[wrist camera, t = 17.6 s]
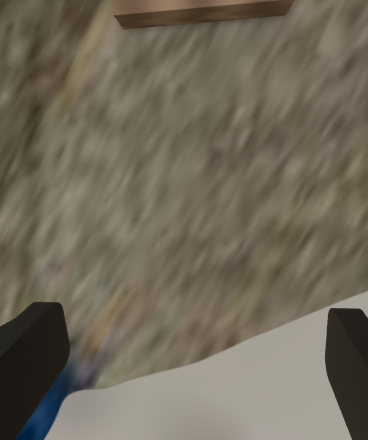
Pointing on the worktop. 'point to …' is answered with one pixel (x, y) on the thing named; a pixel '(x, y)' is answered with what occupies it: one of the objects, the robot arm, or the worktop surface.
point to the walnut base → (192, 11)
